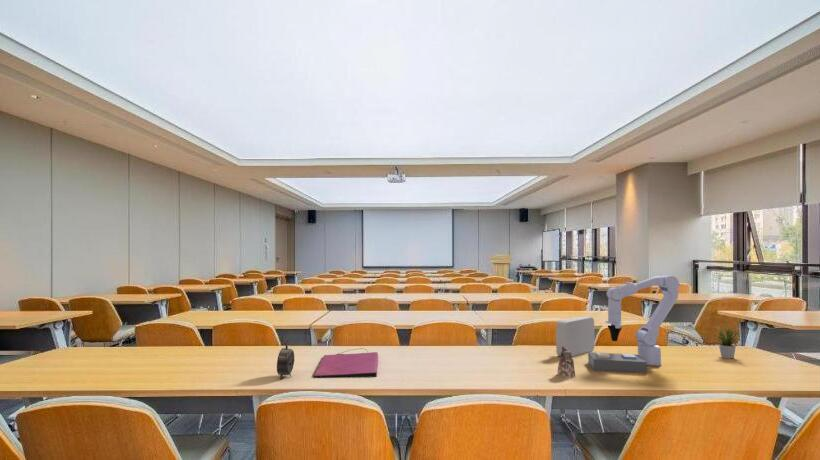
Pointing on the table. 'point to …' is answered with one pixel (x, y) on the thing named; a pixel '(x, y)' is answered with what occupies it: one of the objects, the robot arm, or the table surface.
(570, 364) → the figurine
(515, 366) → the table surface
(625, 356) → the slate blue key
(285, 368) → the alarm clock
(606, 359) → the key deck
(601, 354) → the ivory key
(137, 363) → the table surface
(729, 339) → the house plant
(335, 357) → the laptop bag
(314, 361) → the table surface
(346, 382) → the table surface
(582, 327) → the rounded white slab
